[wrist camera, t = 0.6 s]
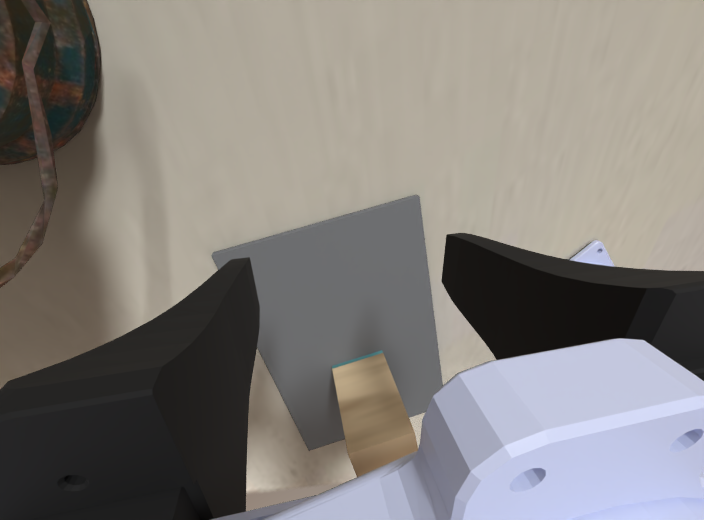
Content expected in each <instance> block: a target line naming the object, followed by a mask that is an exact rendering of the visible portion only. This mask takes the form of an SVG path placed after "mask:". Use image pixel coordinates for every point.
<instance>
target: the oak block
mask: <svg viewBox="0 0 704 520" xmlns="http://www.w3.org/2000/svg"><path fill="white" fill-rule="evenodd" d="M332 371H333V376H334V381H335V387H336V392H337V397H338V403H339V408H340V414H341V419H342V424H343V430H344V435H345V440H346V446H347V451H348V455H349V458H350V460H351V463H352V465H353V468H354V470H355V473H356V475H357V477H359V476H361V475H363V474H366V473H368V472H370V471H372V470H375V469H377V468H379V467H381V466H384V465H386V464H388V463H390V462H393V461H395V460H397V459H399V458H402V457H404V456H406V455H408V454H411V453H413V452H415V451H418V447H417V442H416V437H415V432H414V430H413V427H412V425H411V422H410V419H409V417H408V414H407V412H406V409H405V407H404V404H403V402H402V399H401V397H400V394H399V392H398V389H397V387H396V384H395V381H394V379H393V376H392V374H391V371H390V369H389V366H388V364H387V361H386V359H385V356H384V354H383V351H382V350H381V351H378V352H375V353H372V354H369V355H366V356H362V357H359V358H356V359H353V360H350V361H347V362H343V363H340V364H337V365H334V366H332Z"/></svg>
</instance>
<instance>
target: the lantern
mask: <svg viewBox="0 0 704 520" xmlns="http://www.w3.org/2000/svg"><path fill="white" fill-rule="evenodd" d="M100 61H101V60H100V53H99V47H98V41H97V35H96V30H95V25H94V20H93V16H92V14H91V11H90V8H89V6H88V3H87V1H86V0H0V165H6V164H16V163H20V162H24V161H28V160H31V159H35V158H38V163H39V169H40V175H41V182H42V188H43V194H44V202H43V204H42V206H41V208H40V210H39V212H38V214H37V216H36V218H35V220H34V222H33V224H32V226H31V228H30V230H29V232H28V234H27V236H26V238H25V240H24V242H23V244H22V246H21V248H20V250H19V252H18V254H17V256H16V258H15V259H13V260H12V261H10V262H9V263H7V264H6V265H4V266H3V267H1V268H0V288H1V287H2V286H3V285H5V284H6V283H7V282H8V281H10V280H11V279H12V278H14V277H15V275H16V274H17V273H18V272H19V271H20V269H21V268H22V267H23V266H24V265H25V264H26V262H27V261H28V260H29V259H30V258H31V256H32V255H33V254H34V253H35V252H36V250H37V249H38V248H39V247H40V246H41V245H42V243H43V239H44V235H45V232H46V228H47V225H48V221H49V217H50V214H51V210H52V207H53V203H54V199H55V196H56V192H57V189H58V185H57V176H56V168H55V159H54V151H55V150H57V149H59V148H60V147H62V146H64V145H65V144H66V143H67V142H68V141H70V140H71V139H72V138H73V137H74V136H75V135H76V134H77V133H79V132H80V130H81V128H82V127H83V125H84V123H85V121H86V119H87V117H88V115H89V114H90V111H91V109H92V107H93V105H94V103H95V101H96V96H97V89H98V82H99V72H100Z"/></svg>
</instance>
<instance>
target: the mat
mask: <svg viewBox="0 0 704 520" xmlns="http://www.w3.org/2000/svg"><path fill="white" fill-rule="evenodd" d="M247 257H250V261H251V266H252V270H253V275H254V280H255V285H256V290H257V295H258V300H259V305H260V328H259V336H258V343H257V348H258V350H259V352H260V354H261V356H262V358H263V360H264V362H265V364H266V366H267V368H268V370H269V372H270V374H271V376H272V378H273V380H274V382H275V384H276V386H277V388H278V390H279V392H280V394H281V396H282V398H283V400H284V402H285V404H286V406H287V408H288V410H289V412H290V414H291V416H292V418H293V420H294V422H295V424H296V426H297V428H298V430H299V432H300V434H301V436H302V438H303V440H304V442H305V444H306V446H307V448H308V450H309V451H310V450H313V449H316V448H319V447H322V446H325V445H328V444H331V443H334V442H337V441H340V440H343V439H345V435H344V430H343V424H342V419H341V414H340V408H339V403H338V397H337V392H336V387H335V381H334V376H333V371H332V366H334V365H337V364H340V363H343V362H347V361H350V360H353V359H356V358H359V357H362V356H366V355H369V354H372V353H375V352H378V351H381V350H382V351H383V354H384V356H385V359H386V361H387V364H388V366H389V369H390V371H391V374H392V376H393V379H394V381H395V384H396V387H397V389H398V392H399V394H400V397H401V399H402V402H403V404H404V407H405V409H406V412H407V414H408V417H412V416H415V415H418V414H421V413H424V412H426V411H427V409H428V406H429V404H430V402H431V400H432V397H433V395H434V394H435V392H436V391H437V390H439V389H440V388H441V387H442V386H443V384H442V376H441V368H440V360H439V351H438V343H437V335H436V327H435V319H434V311H433V303H432V295H431V287H430V278H429V270H428V262H427V254H426V246H425V238H424V230H423V222H422V214H421V206H420V197H419V196H418V195H413V196H410V197H406V198H403V199H399V200H396V201H392V202H389V203H385V204H382V205H378V206H375V207H371V208H368V209H364V210H361V211H357V212H354V213H350V214H347V215H343V216H340V217H336V218H333V219H329V220H326V221H322V222H319V223H315V224H312V225H308V226H305V227H301V228H298V229H294V230H291V231H287V232H284V233H280V234H277V235H273V236H270V237H266V238H263V239H259V240H256V241H252V242H249V243H245V244H241V245H238V246H234V247H231V248H227V249H224V250H220V251H217V252H213V254H212V258H213V260H214V262H215V264H216V266H217V268H218V270H219V269H220V268H221V267H222V266H224V265H225V264H226V263H227V262H228V261H230V260H231V259H238V258H247Z"/></svg>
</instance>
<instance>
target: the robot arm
mask: <svg viewBox="0 0 704 520" xmlns="http://www.w3.org/2000/svg"><path fill="white" fill-rule="evenodd" d="M442 283H443V285H444V287H445V289H446V291H447V293H448V294H449V296H450V298H451V299H452V301H453V302H454V304H455V305H456V306H457V308H458V309H459V310H460V312H461V313H462V314H463V316H464V317H465V318H466V319H467V321H468V322H469V323H470V324H471V326H472V327H473V328H474V329H475V331H476V332H477V333H478V334H479V336H480V337H481V338H482V340H483V341H484V342H485V343H486V345H487V346H488V347H489V349H490V350H491V352H492V353H493V354H494V356H495V358H496V359H497V360H494V361H489V362H485V363H483V364H480V365H477V366H475V367H472V368H469V369H467V370H464V371H462V372H459V373H457V374H456V375H455V376H454V377H453V378H451V379H450V380H449V381H448V382H447V383H446V384H444V385H443V386H442V387H441V388H440V389H439V390H437V391H436V392H435V394H434V395H433V397H432V400H431V402H430V404H429V406H428V409H427V411H426V413H425V415H424V417H423V420H422V428H421V439H420V445H419V448H418V451H415V452H413V453H411V454H408V455H406V456H404V457H402V458H399V459H397V460H395V461H393V462H390V463H388V464H386V465H384V466H381V467H379V468H377V469H375V470H372V471H370V472H368V473H366V474H363V475H361V476H359V477H357V478H354V479H352V480H350V481H348V482H345V483H343V484H341V485H339V486H337V487H334V488H332V489H330V490H328V491H325V492H323V493H321V494H319V495H315V496H311V497H307V498H302V499H298V500H293V501H289V502H285V503H281V504H276V505H272V506H267V507H263V508H259V509H254V510H250V511H246V464H247V433H248V411H249V395H250V386H251V379H252V373H253V367H254V361H255V355H256V349H257V343H258V336H259V328H260V305H259V300H258V295H257V290H256V285H255V280H254V275H253V270H252V266H251V261H250V257H247V258H238V259H231V260H230V261H228V262H227V263H226V264H225V265H224V266H222V267H221V268H220V269H219V270H218V271H217V272H216V273H215V274H213V275H212V276H211V277H210V278H209V279H208V280H207V281H206V282H204V283H203V284H202V285H201V286H200V287H198V288H197V289H196V290H194V291H193V292H192V293H191V294H189V295H188V296H187V297H186V298H184V299H183V300H182V301H180V302H179V303H178V304H176V305H175V306H173V307H172V308H170V309H169V310H167V311H166V312H164V313H162V314H161V315H159V316H158V317H156V318H154V319H153V320H151V321H149V322H147V323H146V324H144V325H142V326H140V327H138V328H136V329H134V330H132V331H130V332H129V333H127V334H125V335H123V336H121V337H119V338H117V339H115V340H113V341H111V342H108V343H106V344H104V345H102V346H100V347H97V348H95V349H93V350H90V351H88V352H86V353H83V354H81V355H79V356H76V357H74V358H71V359H69V360H66V361H64V362H61V363H58V364H55V365H53V366H50V367H47V368H44V369H42V370H39V371H36V372H33V373H31V374H28V375H25V376H22V377H19V378H16V379H13V380H10V381H8V382H7V383H6V384H5V385H4V386H3V388H2V389H1V390H0V520H704V271H664V270H648V269H633V268H622V267H615V266H614V264H613V263H612V261H611V259H610V257H609V255H608V253H607V251H606V249H605V247H604V245H603V243H602V242H600V241H598V240H595V241H593V242H591V243H590V244H589V245H588V246H586V247H585V248H584V249H583V250H581V251H580V252H579V253H578V254H576V255H575V256H574V257H572V258H571V259H570V260H567V259H561V258H556V257H552V256H547V255H543V254H539V253H535V252H532V251H528V250H524V249H520V248H517V247H514V246H510V245H507V244H503V243H500V242H497V241H493V240H490V239H487V238H483V237H480V236H476V235H472V234H467V233H456V234H448V235H447V236H446V245H445V254H444V264H443V273H442Z"/></svg>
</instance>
